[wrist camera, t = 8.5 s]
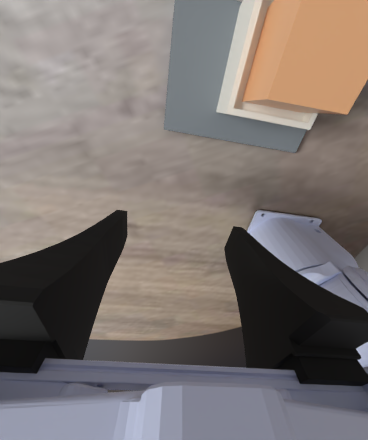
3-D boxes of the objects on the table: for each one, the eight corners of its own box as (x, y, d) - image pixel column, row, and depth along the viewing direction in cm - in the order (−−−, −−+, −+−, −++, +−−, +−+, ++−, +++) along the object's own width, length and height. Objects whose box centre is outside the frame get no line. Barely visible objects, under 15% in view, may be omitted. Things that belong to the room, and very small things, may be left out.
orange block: (338, 24, 10) (425, -21, 7) (299, 112, 13) (347, 114, 9) (267, 7, 10) (318, -52, 6) (241, 101, 13) (267, 99, 9)
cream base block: (322, 27, 13) (377, -4, 9) (281, 124, 17) (309, 129, 13) (239, 6, 12) (264, -37, 9) (216, 112, 16) (226, 113, 12)
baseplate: (346, 35, 14) (355, 32, 13) (291, 151, 19) (295, 152, 18) (176, -9, 12) (176, -16, 12) (164, 128, 17) (163, 129, 17)
